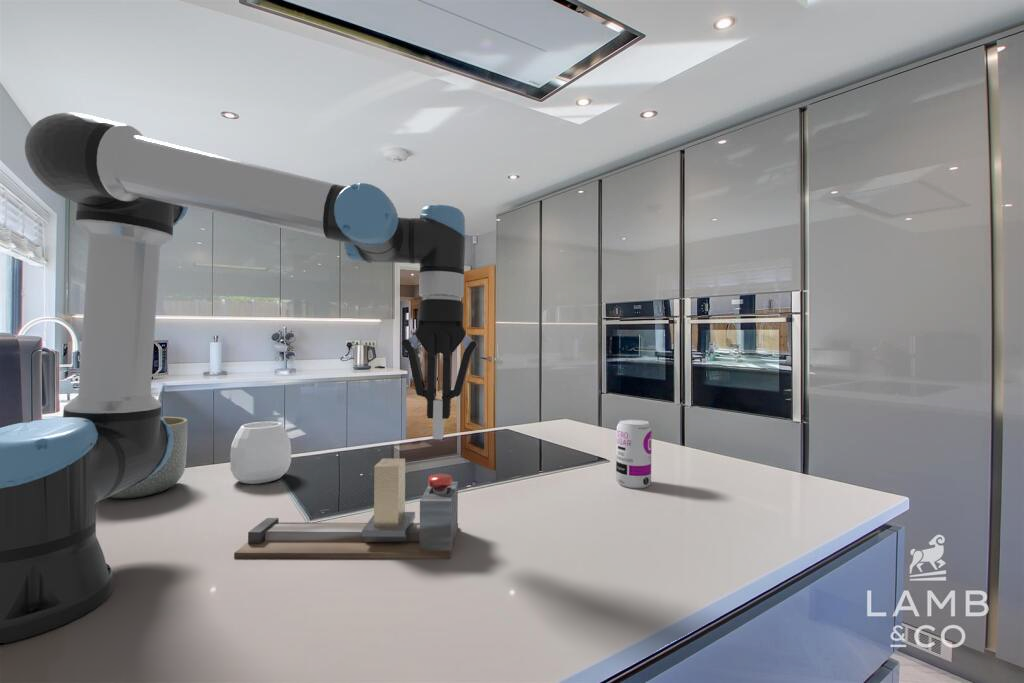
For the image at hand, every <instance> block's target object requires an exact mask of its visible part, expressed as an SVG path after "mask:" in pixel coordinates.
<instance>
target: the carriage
mask: <svg viewBox="0 0 1024 683" xmlns="http://www.w3.org/2000/svg"><path fill="white" fill-rule="evenodd" d="M373 471H374V473H373V476H374V477H373V479H374V482H373V484H374V485H373V486H374V488H373V515H372V516H371V518H369V520H368V522H366V523H367V524H366V526H365V527H364V528H363V530H362V536H365V542H407V541H408V530H409V528H410V526H411V525H413V523H414V520H415V518H416V511H406V458H381V459H380V461H379V462H377V463H376V464H375V465H374V470H373Z"/></svg>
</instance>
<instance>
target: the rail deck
mask: <svg viewBox="0 0 1024 683" xmlns="http://www.w3.org/2000/svg"><path fill="white" fill-rule="evenodd" d="M458 487H459V482H458V481H452V485H450V486H448V487H447V494H433V487H430V486H429V485H428V484H427V487H426V489H425V490H424V493H423V495H422V496H421V498H420V500H419V522H413V525H411V526H410V528H409V530H408V541H407V542H365V536H362V530H363V528H364V527H365V526H366V524H367V523H368V522H306V521H305V522H302V521H301V522H299V521H298V522H294V521H293V522H289V521H288V522H287V521H285V522H284V521H282V522H279V517H267V518H265V519H263V520H262V521H261V522H259V523H258V524H257V525H256V526H254V527H253V528H252V529H250V530H249V531H247V542H246V543H244V544H243V545H242V546H241V547H240V548H238V549H237V550H235V552H234V553H233V556H234V557H233V558H234V559H235V558H236V559H418V560H419V559H423V560H424V559H433V560H434V559H438V560H439V559H442V560H443V559H444V560H445V559H451V557H452V556H451V555H452V552H453V548H454V545H455V542H456V537H457V532H458V529H459V523H458V518H459V516H458V513H459V512H458V509H459V507H458V506H459V504H458V503H459V500H458V498H459V488H458Z"/></svg>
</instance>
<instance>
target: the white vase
mask: <svg viewBox="0 0 1024 683" xmlns="http://www.w3.org/2000/svg"><path fill="white" fill-rule="evenodd" d="M229 457H230V458H229V459H230V460H229V462H230V471H231V474H232V476H233V477H234V479H236V481H237V480H238V482H240V483H242V484H251V485H252V484H263V483H264V484H265V483H269V482H272V481H276V480H278V479H280V478H281V477H283V476H284V475H285V474H286V473H287V472H288V470H289V468H290V465H291V463H292V447H291V439H290V437H289V435H288V432H287V430H286V429H285V427H284V425H283V424H282V423H281V422H280V421H279V422H278V421H272V420H271V421H257V422H254V421H253V422H249V423H244V424H242V425H241V426H240V427H239V429H238V430H237V432H236V434H235V435H234V438H233V441H232V442H231V447H230V456H229Z"/></svg>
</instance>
